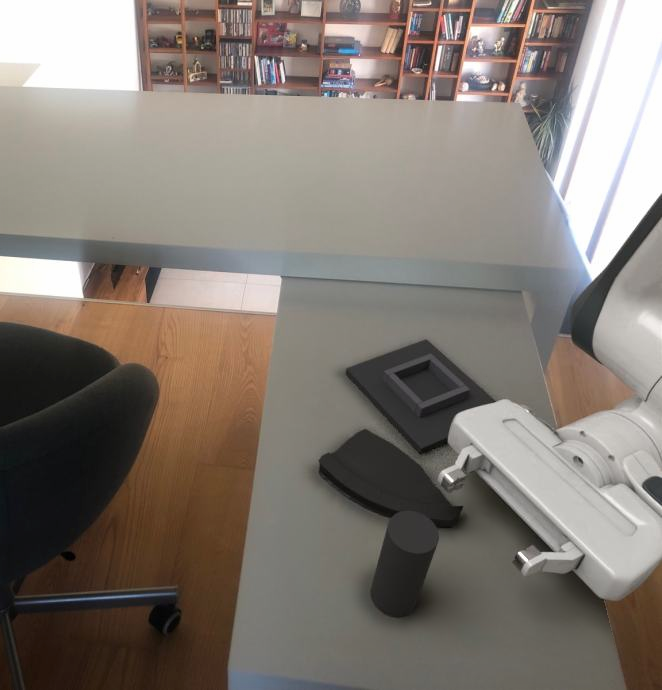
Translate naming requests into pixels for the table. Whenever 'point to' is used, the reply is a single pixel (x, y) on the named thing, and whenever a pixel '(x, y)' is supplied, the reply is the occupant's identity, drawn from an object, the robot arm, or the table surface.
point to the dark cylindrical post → (403, 562)
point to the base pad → (418, 392)
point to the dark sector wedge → (385, 479)
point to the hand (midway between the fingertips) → (479, 522)
